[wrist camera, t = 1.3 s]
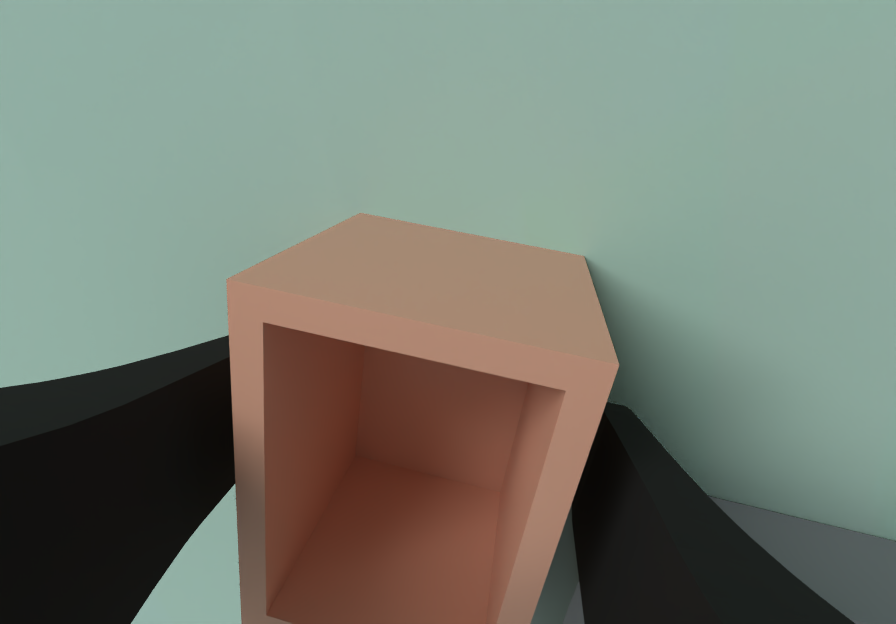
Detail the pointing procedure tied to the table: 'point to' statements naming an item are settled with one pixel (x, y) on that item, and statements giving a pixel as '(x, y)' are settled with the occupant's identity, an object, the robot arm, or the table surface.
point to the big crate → (790, 542)
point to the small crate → (409, 423)
